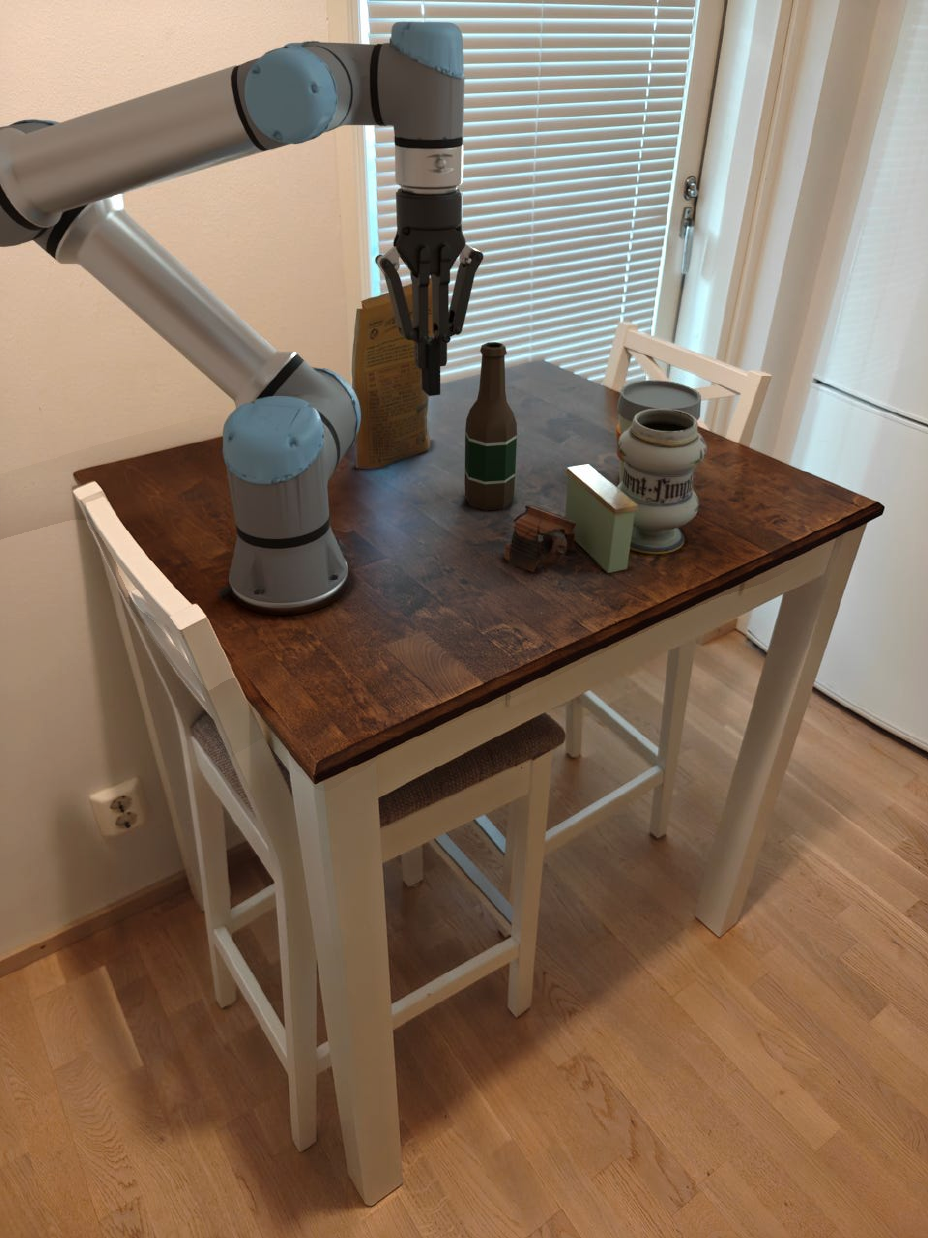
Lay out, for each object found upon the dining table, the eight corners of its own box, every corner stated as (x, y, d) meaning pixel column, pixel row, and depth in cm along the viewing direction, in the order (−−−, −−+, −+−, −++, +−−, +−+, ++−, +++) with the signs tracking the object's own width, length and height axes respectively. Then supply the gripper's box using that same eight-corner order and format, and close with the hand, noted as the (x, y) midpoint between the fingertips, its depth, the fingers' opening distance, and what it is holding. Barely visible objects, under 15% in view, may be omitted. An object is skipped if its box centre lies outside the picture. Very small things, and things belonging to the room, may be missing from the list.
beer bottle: (509, 514, 133) (517, 355, 120) (459, 508, 134) (460, 351, 121) (517, 491, 140) (525, 338, 126) (469, 486, 141) (471, 334, 127)
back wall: (607, 574, 119) (615, 509, 114) (561, 529, 130) (567, 467, 124) (629, 569, 121) (638, 504, 115) (582, 525, 131) (588, 463, 125)
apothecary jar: (591, 526, 130) (604, 409, 120) (660, 511, 134) (678, 397, 124) (636, 565, 121) (654, 442, 111) (709, 548, 125) (732, 428, 115)
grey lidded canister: (702, 496, 139) (718, 404, 130) (628, 506, 136) (640, 413, 127) (665, 464, 149) (678, 376, 140) (595, 472, 146) (605, 383, 137)
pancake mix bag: (453, 446, 153) (453, 278, 137) (367, 479, 142) (357, 300, 126) (426, 435, 157) (424, 270, 141) (341, 466, 146) (328, 291, 130)
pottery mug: (489, 552, 125) (509, 496, 123) (544, 569, 129) (564, 516, 128) (526, 574, 114) (549, 513, 113) (584, 592, 118) (607, 534, 117)
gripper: (383, 196, 94) (391, 408, 108) (496, 189, 98) (489, 395, 112) (363, 185, 100) (373, 388, 113) (470, 179, 104) (467, 376, 118)
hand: (431, 391), depth 113 cm, fingers closed
